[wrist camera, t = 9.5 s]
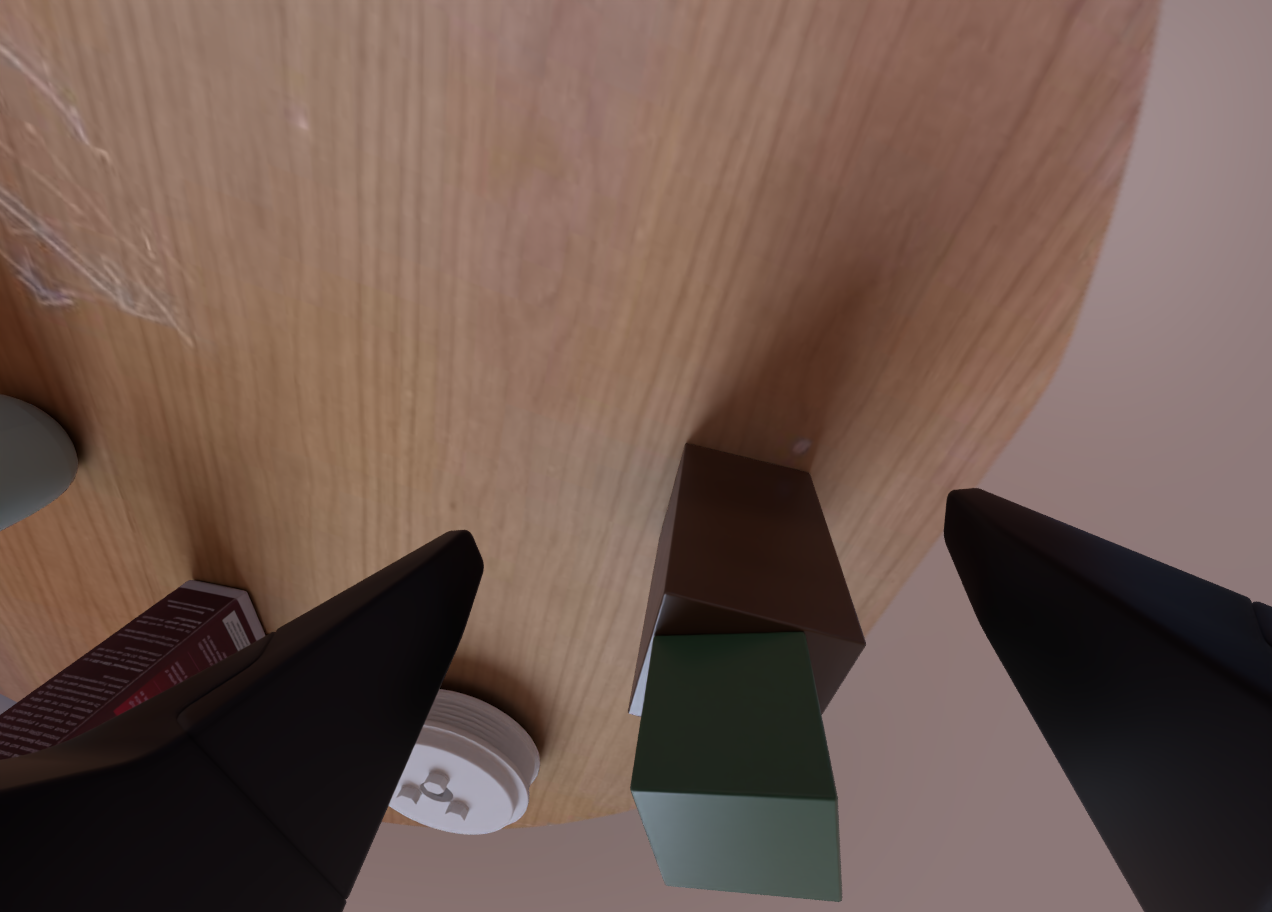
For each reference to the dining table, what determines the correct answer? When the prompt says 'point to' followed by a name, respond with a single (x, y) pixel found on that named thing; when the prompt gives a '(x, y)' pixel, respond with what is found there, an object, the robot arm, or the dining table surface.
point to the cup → (31, 460)
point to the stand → (749, 565)
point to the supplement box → (133, 666)
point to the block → (737, 767)
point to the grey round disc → (467, 768)
